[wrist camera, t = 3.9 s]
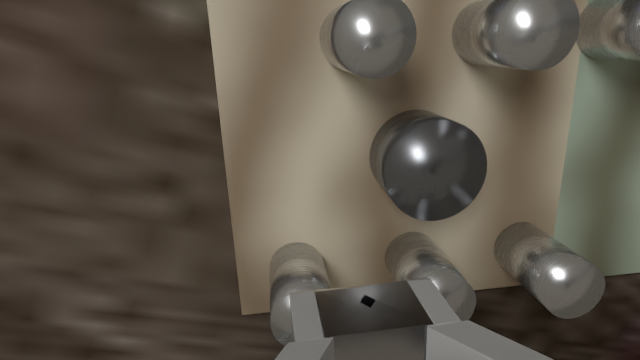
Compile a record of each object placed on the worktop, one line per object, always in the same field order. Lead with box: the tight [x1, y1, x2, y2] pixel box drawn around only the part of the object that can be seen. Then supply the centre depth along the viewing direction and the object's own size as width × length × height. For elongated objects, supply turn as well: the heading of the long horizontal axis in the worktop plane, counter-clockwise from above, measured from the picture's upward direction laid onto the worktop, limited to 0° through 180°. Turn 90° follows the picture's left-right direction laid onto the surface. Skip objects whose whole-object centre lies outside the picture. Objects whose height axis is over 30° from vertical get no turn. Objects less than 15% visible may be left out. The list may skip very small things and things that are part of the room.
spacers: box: [269, 0, 640, 346], centre depth 19 cm, size 18×14×4 cm
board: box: [207, 0, 640, 315], centre depth 21 cm, size 24×16×1 cm, turn 92°
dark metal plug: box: [369, 110, 487, 221], centre depth 19 cm, size 4×4×3 cm
